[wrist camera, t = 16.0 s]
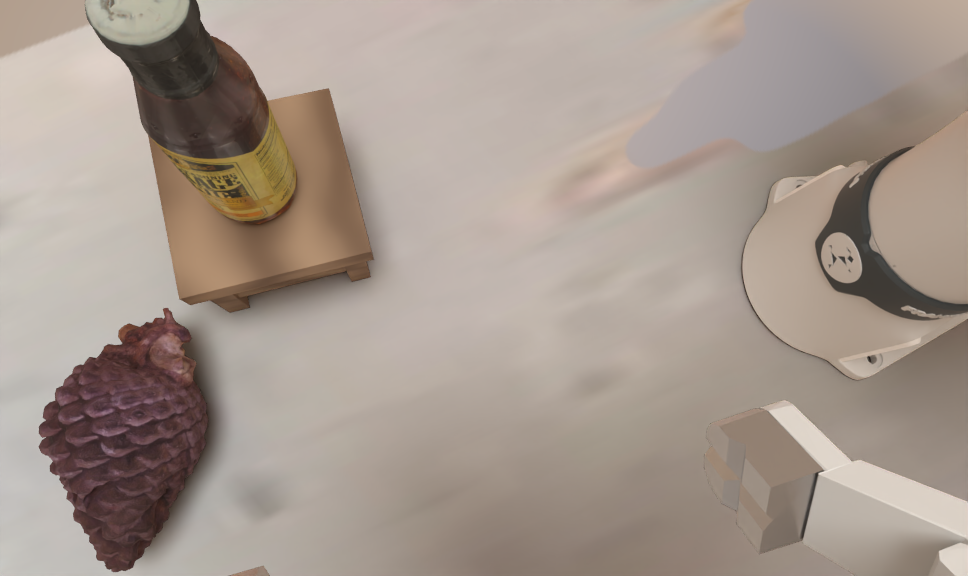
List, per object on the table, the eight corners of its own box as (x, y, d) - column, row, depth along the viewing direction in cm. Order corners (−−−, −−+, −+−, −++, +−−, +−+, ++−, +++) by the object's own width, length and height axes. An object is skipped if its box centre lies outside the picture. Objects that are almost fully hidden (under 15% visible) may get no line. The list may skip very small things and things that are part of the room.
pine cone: (213, 556, 46) (156, 588, 36) (73, 558, 45) (-25, 592, 36) (236, 321, 50) (189, 294, 40) (107, 319, 49) (28, 291, 40)
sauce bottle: (191, 198, 43) (-1, 5, 24) (248, 130, 44) (110, -103, 25) (269, 249, 43) (137, 94, 23) (323, 179, 44) (242, -20, 25)
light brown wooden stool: (344, 144, 55) (328, 88, 46) (380, 282, 52) (371, 251, 43) (193, 177, 53) (146, 125, 44) (222, 323, 50) (179, 298, 41)
